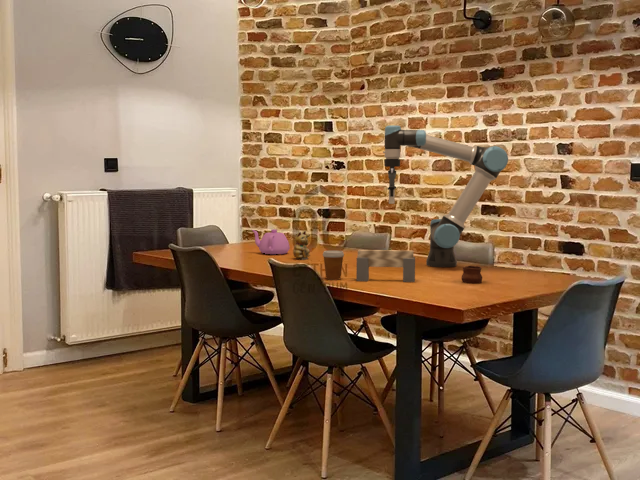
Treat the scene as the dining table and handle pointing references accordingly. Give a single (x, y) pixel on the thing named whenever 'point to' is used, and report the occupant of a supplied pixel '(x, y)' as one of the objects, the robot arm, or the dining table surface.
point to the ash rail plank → (385, 257)
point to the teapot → (272, 242)
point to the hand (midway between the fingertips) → (391, 203)
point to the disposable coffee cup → (333, 264)
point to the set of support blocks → (408, 269)
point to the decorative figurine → (301, 246)
